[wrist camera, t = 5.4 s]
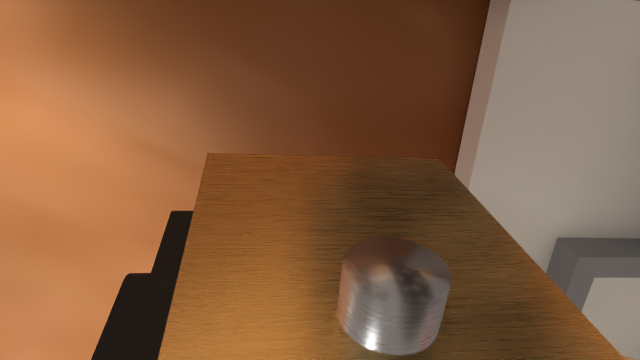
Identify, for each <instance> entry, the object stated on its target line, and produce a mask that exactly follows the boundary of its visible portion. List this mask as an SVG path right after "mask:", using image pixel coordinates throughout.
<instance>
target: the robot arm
mask: <svg viewBox="0 0 640 360" xmlns="http://www.w3.org/2000/svg"><path fill="white" fill-rule="evenodd" d="M193 212H194V211H172V212H171V214H170V217H169V220H168V223H167V226H166V229H165V232H164V235H163V238H162V241H161V244H160V247H159V250H158V253H157V256H156V259H155V262H154V265H153V268H152V271H151V273H129V274H128V275H126V277H125V279H124V280H123V283H122V285H121V288H120V290H119V293H118V295H117V298H116V300H115V303H114V305H113V307H112V310H111V312H110V315H109V317H108V320H107V322H106V325H105V327H104V329H103V332H102V334H101V337H100V339H99V342H98V344H97V347H96V349H95V352H94V354H93V356H92V359H91V360H158V357H159V352H160V348H161V344H162V340H163V336H164V332H165V328H166V323H167V319H168V315H169V311H170V307H171V303H172V299H173V294H174V290H175V286H176V282H177V278H178V274H179V270H180V265H181V261H182V257H183V253H184V249H185V245H186V241H187V236H188V232H189V228H190V224H191V220H192V216H193ZM622 356H623V355H622ZM623 358H624V359H625V360H635V359H633V358H630V357H627V356H623Z"/></svg>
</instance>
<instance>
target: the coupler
mask: <svg viewBox="0 0 640 360" xmlns="http://www.w3.org/2000/svg"><path fill="white" fill-rule="evenodd" d="M158 360H625V359H624V358H623V356H622V355H621V354H620V353H619V352H618V351H617V350H616V349H615V348H614V347H613V346H612V345H611V343H610V342H609V341H608V340H607V339H606V338H605V337H604V336H603V335H602V334H601V333H600V332H599V331H598V329H597V328H596V327H595V326H594V325H593V324H592V323H591V322H590V321H589V320H588V319H587V318H586V316H585V315H584V314H583V313H582V312H581V311H580V310H579V309H578V308H577V307H576V306H575V305H574V303H573V302H572V301H571V300H570V299H569V298H568V297H567V296H566V295H565V294H564V293H563V292H562V290H561V289H560V288H559V287H558V286H557V285H556V284H555V283H554V282H553V281H552V280H551V279H550V277H549V276H548V275H547V274H546V273H545V272H544V271H543V270H542V269H541V268H540V267H539V266H538V264H537V263H536V262H535V261H534V260H533V259H532V258H531V257H530V256H529V255H528V254H527V253H526V252H525V250H524V249H523V248H522V247H521V246H520V245H519V244H518V243H517V242H516V241H515V240H514V239H513V237H512V236H511V235H510V234H509V233H508V232H507V231H506V230H505V229H504V228H503V227H502V226H501V224H500V223H499V222H498V221H497V220H496V219H495V218H494V217H493V216H492V215H491V214H490V213H489V211H488V210H487V209H486V208H485V207H484V206H483V205H482V204H481V203H480V202H479V201H478V200H477V198H476V197H475V196H474V195H473V194H472V193H471V192H470V191H469V190H468V189H467V188H466V187H465V185H464V184H463V183H462V182H461V181H460V180H459V179H458V178H457V177H456V176H455V175H454V174H453V173H452V171H451V170H450V169H449V168H448V167H447V166H446V165H445V164H444V163H443V162H442V161H441V160H440V158H407V157H361V156H316V155H270V154H225V153H208V154H207V158H206V162H205V166H204V170H203V174H202V178H201V183H200V187H199V191H198V195H197V199H196V203H195V207H194V212H193V216H192V220H191V224H190V228H189V232H188V236H187V241H186V245H185V249H184V253H183V257H182V261H181V265H180V270H179V274H178V278H177V282H176V286H175V290H174V294H173V299H172V303H171V307H170V311H169V315H168V319H167V323H166V328H165V332H164V336H163V340H162V344H161V348H160V352H159V357H158Z"/></svg>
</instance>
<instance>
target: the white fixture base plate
mask: <svg viewBox="0 0 640 360" xmlns="http://www.w3.org/2000/svg"><path fill="white" fill-rule="evenodd" d="M454 175H455V176H456V177H457V178H458V179H459V180H460V181H461V182H462V183H463V184H464V185H465V187H466V188H467V189H468V190H469V191H470V192H471V193H472V194H473V195H474V196H475V197H476V198H477V200H478V201H479V202H480V203H481V204H482V205H483V206H484V207H485V208H486V209H487V210H488V211H489V213H490V214H491V215H492V216H493V217H494V218H495V219H496V220H497V221H498V222H499V223H500V224H501V226H502V227H503V228H504V229H505V230H506V231H507V232H508V233H509V234H510V235H511V236H512V237H513V239H514V240H515V241H516V242H517V243H518V244H519V245H520V246H521V247H522V248H523V249H524V250H525V252H526V253H527V254H528V255H529V256H530V257H531V258H532V259H533V260H534V261H535V262H536V263H537V264H538V266H539V267H540V268H541V269H542V270H543V271H544V272H545V273H546V274H547V275H548V276H549V277H550V279H551V280H552V281H553V282H554V283H555V284H556V285H557V286H558V287H559V288H560V289H561V290H562V292H563V293H564V294H565V295H566V296H567V297H568V298H569V299H570V300H571V301H572V302H573V303H574V305H575V306H576V307H577V308H578V309H579V310H580V311H581V312H582V313H583V314H584V315H585V316H586V318H587V319H588V320H589V321H590V322H591V323H592V324H593V325H594V326H595V327H596V328H597V329H598V331H599V332H600V333H601V334H602V335H603V336H604V337H605V338H606V339H607V340H608V341H609V342H610V343H611V345H612V346H613V347H614V348H615V349H616V350H617V351H618V352H619V353H620V354H621V355H623V356H627V357H630V358H633V359H635V360H640V1H635V0H491V1H490V6H489V10H488V15H487V20H486V25H485V30H484V34H483V39H482V44H481V49H480V54H479V58H478V63H477V68H476V73H475V77H474V82H473V87H472V92H471V97H470V101H469V106H468V111H467V116H466V121H465V125H464V130H463V135H462V140H461V145H460V149H459V154H458V159H457V164H456V168H455V173H454Z"/></svg>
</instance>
